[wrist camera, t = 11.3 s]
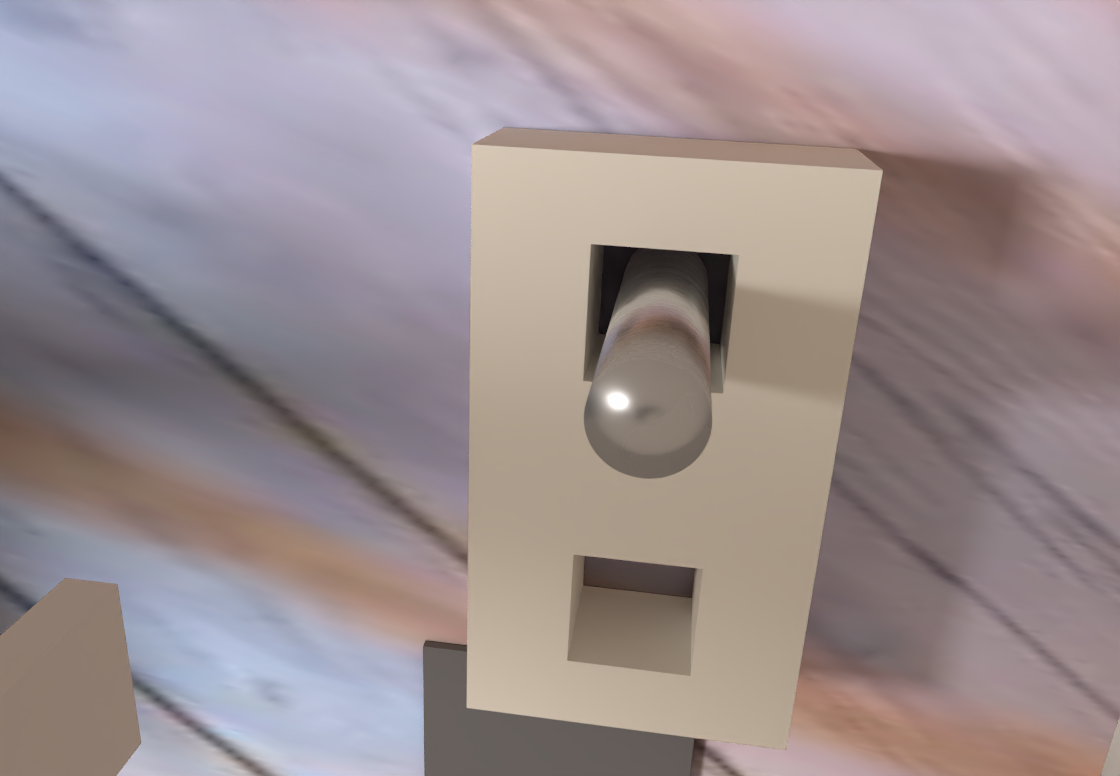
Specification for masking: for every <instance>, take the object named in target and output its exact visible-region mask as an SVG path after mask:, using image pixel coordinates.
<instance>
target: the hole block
mask: <svg viewBox="0 0 1120 776" xmlns="http://www.w3.org/2000/svg"><path fill="white" fill-rule="evenodd" d="M882 173H883V170H882V169H881V168H879V167H878V166H877V165H876V164H874V163H873V162H872V161H871V160H869V159H868V158H867V157H866V156H865V155H863V154H862V153H861V152H860V151H858V150H857V149H851V148H835V147H818V146H802V145H785V144H769V143H753V142H736V141H720V140H704V139H687V138H671V137H654V136H638V135H622V134H605V133H589V132H572V131H556V130H540V129H523V128H507V127H504V128H502V129H500V130H498V131H496V132H494V133H492V134H490V135H489V136H487V137H485V138H483V139H481V140H479V141H477V142H475V143H474V144H472V177H471V285H470V393H469V501H468V609H467V708H472V709H479V710H487V711H494V712H502V713H510V714H517V715H525V716H532V717H540V718H547V719H555V720H562V721H570V722H578V723H585V724H593V725H600V726H608V727H615V728H623V729H630V730H638V731H646V732H653V733H661V734H668V735H676V736H683V737H691V738H699V739H706V740H714V741H721V742H729V743H736V744H744V745H751V746H759V747H767V748H774V749H782V750H786V748H787V742H788V736H789V730H790V724H791V718H792V712H793V706H794V700H795V694H796V688H797V682H798V676H799V670H800V664H801V658H802V652H803V646H804V640H805V634H806V628H807V622H808V616H809V610H810V604H811V598H812V592H813V586H814V580H815V574H816V568H817V562H818V556H819V550H820V544H821V539H822V533H823V527H824V521H825V515H826V509H827V503H828V497H829V491H830V485H831V479H832V473H833V467H834V461H835V455H836V449H837V443H838V437H839V431H840V425H841V419H842V413H843V407H844V401H845V395H846V389H847V383H848V377H849V371H850V365H851V359H852V353H853V347H854V341H855V335H856V329H857V323H858V317H859V311H860V305H861V299H862V293H863V287H864V281H865V275H866V269H867V263H868V257H869V251H870V245H871V239H872V233H873V227H874V221H875V215H876V209H877V203H878V197H879V191H880V185H881V179H882ZM604 245H611V246H625V247H638V248H652V249H665V250H678V251H692V252H705V253H719V254H730V263H729V272H728V281H727V290H726V298H725V307H724V316H723V325H722V334H721V343H720V344H712V343H710V367H711V398H712V429H711V435H710V438H709V441H708V443H707V445H706V447H705V449H704V451H703V452H702V453H701V455H700V456H699V457H698V458H697V459H696V460H695V461H694V462H693V463H692V464H691V465H690V466H688V467H687V468H685V469H684V470H682V471H680V472H678V473H676V474H673V475H670V476H667V477H662V478H654V479H645V478H637V477H632V476H629V475H626V474H623V473H621V472H619V471H617V470H615V469H613V468H612V467H610V466H609V465H607V464H606V463H605V462H604V461H603V460H602V459H601V458H600V457H599V456H598V455H597V454H596V453H595V451H594V450H593V448H592V446H591V445H590V443H589V441H588V438H587V435H586V432H585V427H584V409H585V405H586V401H587V398H588V394H589V391H590V388H591V384H592V381H593V377H594V374H595V371H596V367H597V364H598V361H599V357H600V354H601V350H602V347H603V344H604V340H605V337H606V334H599V319H600V303H601V287H602V271H603V254H604ZM585 556H591V557H600V558H609V559H618V560H627V561H636V562H644V563H653V564H662V565H671V566H680V567H689V568H695V575H694V584H693V593H692V598H687V597H678V596H670V595H661V594H652V593H644V592H635V591H627V590H618V589H609V588H601V587H592V586H583V578H584V562H585Z"/></svg>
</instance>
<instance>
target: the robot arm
mask: <svg viewBox="0 0 1120 776" xmlns="http://www.w3.org/2000/svg"><path fill="white" fill-rule="evenodd" d="M140 744H141V738H140V731H139V724H138V718H137V711H136V704H135V698H134V691H133V684H132V678H131V671H130V664H129V658H128V651H127V644H126V638H125V631H124V624H123V618H122V611H121V604H120V598H119V591H118V584H112V583H103V582H95V581H86V580H78V579H69V578H65V579H64V580H63V581H61V582H60V583H59V584H58V585H57V586H56V587H55V588H54V589H52V590H51V591H50V592H49V593H48V594H47V595H46V596H44V597H43V598H42V599H41V600H40V601H39V602H38V603H37V604H35V605H34V606H33V607H32V608H31V609H30V610H29V611H28V612H26V613H25V614H24V615H23V616H22V617H21V618H20V619H18V620H17V621H16V622H15V623H14V624H13V625H12V626H11V627H9V628H8V629H7V630H6V631H5V632H4V633H3V634H2V635H0V776H116V775H117V774H118V773H119V772H120V770H121V769H122V768H123V766H124V765H125V764H126V762H127V761H128V760H129V758H130V757H131V756H132V755H133V753H134V752H135V751H136V749H137V748H138V747H139V745H140ZM1101 776H1120V717H1119V720H1118V724H1117V727H1116V730H1115V733H1114V736H1113V739H1112V742H1111V745H1110V748H1109V751H1108V754H1107V757H1106V760H1105V763H1104V767H1103V770H1102V773H1101Z"/></svg>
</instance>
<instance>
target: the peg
mask: <svg viewBox="0 0 1120 776" xmlns="http://www.w3.org/2000/svg"><path fill="white" fill-rule="evenodd" d="M584 427H585V432H586V435H587V438H588V441H589V443H590V445H591V446H592V448H593V450H594V451H595V453H596V454H597V455H598V456H599V457H600V458H601V459H602V460H603V461H604V462H605V463H606V464H607V465H609V466H610V467H612V468H613V469H615V470H617V471H619V472H621V473H623V474H626V475H629V476H632V477H637V478H645V479H654V478H662V477H667V476H670V475H673V474H676V473H678V472H680V471H682V470H684V469H685V468H687V467H688V466H690V465H691V464H692V463H693V462H694V461H695V460H696V459H697V458H698V457H699V456H700V455H701V453H702V452H703V451H704V449H705V447H706V445H707V443H708V441H709V438H710V435H711V429H712V398H711V367H710V337H709V306H708V277H707V270H706V267H705V264H704V262H703V260H702V258H701V257H700V255H699V254H698V253H697V252H692V251H678V250H665V249H652V248H639V249H638V250H637V251H636V252H635V253H634V254H633V255H632V257H631V258H630V260H629V261H628V264H627V266H626V269H625V273H624V276H623V279H622V283H621V286H620V290H619V293H618V296H617V300H616V303H615V306H614V310H613V313H612V317H611V320H610V323H609V327H608V330H607V333H606V337H605V340H604V344H603V347H602V350H601V354H600V357H599V361H598V364H597V367H596V371H595V374H594V377H593V381H592V384H591V388H590V391H589V394H588V398H587V401H586V405H585V409H584Z"/></svg>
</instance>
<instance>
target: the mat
mask: <svg viewBox="0 0 1120 776" xmlns="http://www.w3.org/2000/svg"><path fill="white" fill-rule="evenodd" d="M423 676H424V763H425V776H690V770H691V762H692V754H693V745H694V738H691V737H683V736H676V735H668V734H661V733H653V732H646V731H638V730H630V729H623V728H615V727H608V726H600V725H593V724H585V723H578V722H570V721H562V720H555V719H547V718H540V717H532V716H525V715H517V714H510V713H502V712H494V711H487V710H479V709H472V708H467V646H464V645H456V644H448V643H440V642H432V641H425V643H424V646H423Z"/></svg>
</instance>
